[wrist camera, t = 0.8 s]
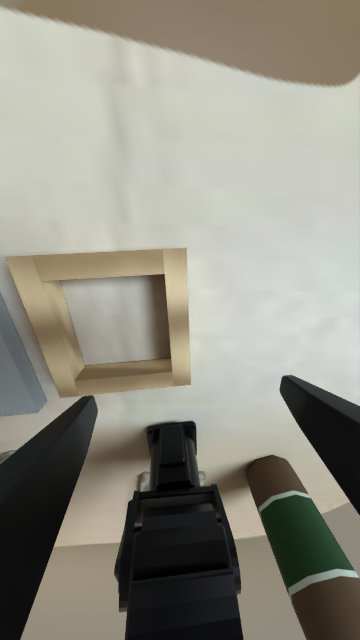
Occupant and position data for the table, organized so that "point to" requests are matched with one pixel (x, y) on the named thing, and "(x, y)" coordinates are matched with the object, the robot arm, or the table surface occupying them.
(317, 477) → the table surface
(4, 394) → the hook board
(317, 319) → the table surface
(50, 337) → the oak loop
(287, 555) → the beer bottle
